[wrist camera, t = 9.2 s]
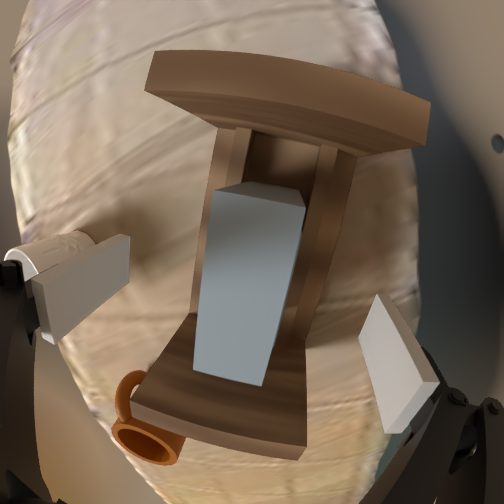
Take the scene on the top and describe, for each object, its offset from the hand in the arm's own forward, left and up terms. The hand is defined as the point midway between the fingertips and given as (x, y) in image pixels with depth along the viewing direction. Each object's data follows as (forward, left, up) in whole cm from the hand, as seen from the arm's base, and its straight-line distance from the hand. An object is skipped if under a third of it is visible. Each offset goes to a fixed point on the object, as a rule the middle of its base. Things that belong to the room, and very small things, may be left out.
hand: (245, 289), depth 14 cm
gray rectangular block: (0, 0, -11) cm, 11 cm away
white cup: (+7, -21, -13) cm, 25 cm away
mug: (+24, -9, -13) cm, 29 cm away
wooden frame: (0, 0, -12) cm, 12 cm away
